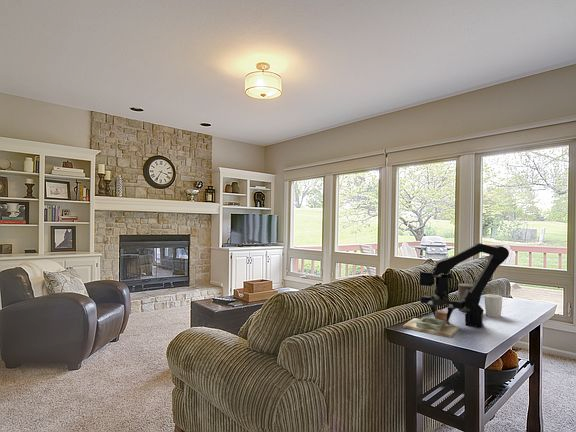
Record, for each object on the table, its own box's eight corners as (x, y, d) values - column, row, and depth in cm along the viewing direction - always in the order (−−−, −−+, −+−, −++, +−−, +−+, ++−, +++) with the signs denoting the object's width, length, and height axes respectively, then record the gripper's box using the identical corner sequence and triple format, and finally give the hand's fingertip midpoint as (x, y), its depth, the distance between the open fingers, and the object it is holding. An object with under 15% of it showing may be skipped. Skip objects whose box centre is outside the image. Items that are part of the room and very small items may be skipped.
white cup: (480, 314, 181) (480, 294, 181) (491, 312, 184) (492, 293, 184) (494, 318, 174) (494, 298, 174) (506, 316, 177) (506, 296, 177)
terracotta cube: (448, 321, 168) (449, 311, 168) (446, 324, 164) (446, 313, 164) (437, 319, 171) (438, 309, 171) (434, 322, 167) (434, 311, 167)
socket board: (459, 329, 157) (459, 322, 157) (450, 337, 146) (451, 329, 146) (414, 320, 169) (414, 313, 169) (403, 327, 158) (403, 320, 158)
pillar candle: (481, 313, 182) (481, 284, 183) (460, 312, 184) (461, 283, 184) (475, 308, 192) (475, 281, 192) (455, 307, 194) (456, 280, 194)
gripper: (416, 287, 167) (416, 320, 167) (459, 292, 155) (459, 328, 155) (424, 283, 175) (423, 314, 175) (465, 288, 164) (464, 322, 164)
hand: (441, 319), depth 167 cm, fingers closed on terracotta cube, 5 cm apart
